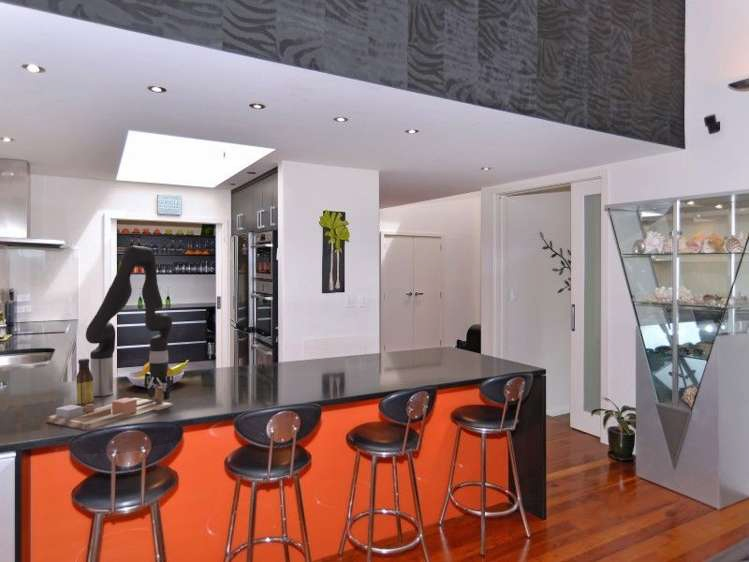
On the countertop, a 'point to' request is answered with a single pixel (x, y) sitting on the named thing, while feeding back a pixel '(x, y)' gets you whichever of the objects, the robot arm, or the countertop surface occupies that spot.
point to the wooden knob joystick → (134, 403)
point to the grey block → (73, 411)
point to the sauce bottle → (84, 383)
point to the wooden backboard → (105, 415)
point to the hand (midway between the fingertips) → (158, 398)
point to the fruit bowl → (139, 376)
